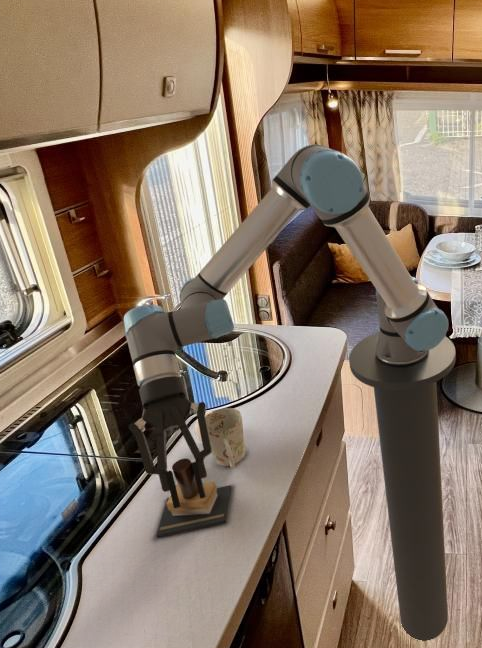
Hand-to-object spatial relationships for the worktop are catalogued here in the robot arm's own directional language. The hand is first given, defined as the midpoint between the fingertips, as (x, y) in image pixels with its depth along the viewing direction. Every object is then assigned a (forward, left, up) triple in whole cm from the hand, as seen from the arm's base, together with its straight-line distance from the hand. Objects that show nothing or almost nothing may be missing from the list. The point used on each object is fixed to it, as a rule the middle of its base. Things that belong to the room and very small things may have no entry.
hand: (190, 502), depth 90 cm
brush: (+1, -4, -5) cm, 7 cm away
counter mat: (+1, -4, -6) cm, 7 cm away
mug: (-5, -16, -6) cm, 17 cm away
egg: (0, -24, -6) cm, 25 cm away
